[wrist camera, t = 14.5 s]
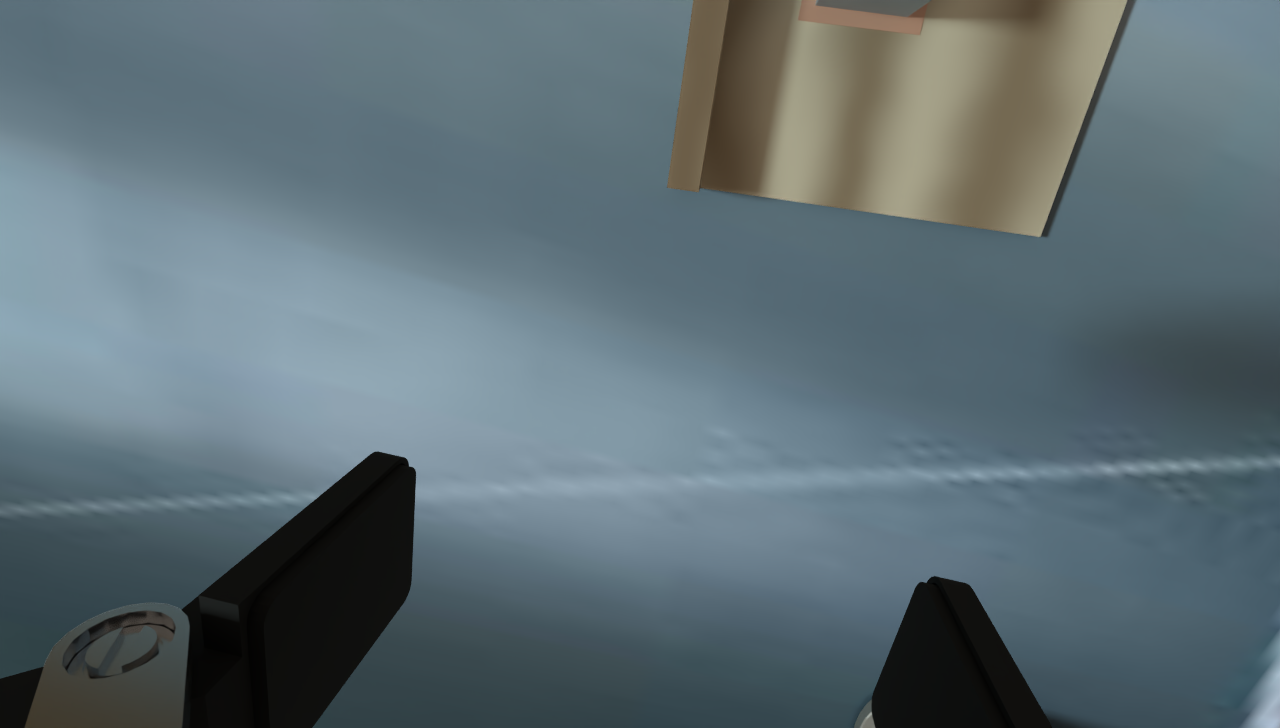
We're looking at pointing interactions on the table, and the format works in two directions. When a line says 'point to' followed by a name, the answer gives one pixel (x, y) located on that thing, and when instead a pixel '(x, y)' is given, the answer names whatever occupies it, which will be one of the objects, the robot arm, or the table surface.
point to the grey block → (877, 6)
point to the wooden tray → (891, 105)
